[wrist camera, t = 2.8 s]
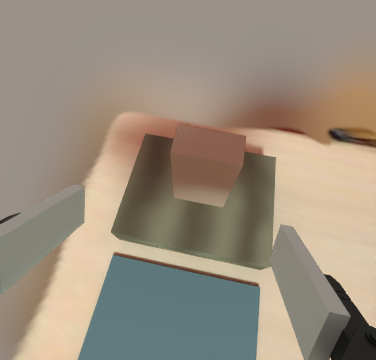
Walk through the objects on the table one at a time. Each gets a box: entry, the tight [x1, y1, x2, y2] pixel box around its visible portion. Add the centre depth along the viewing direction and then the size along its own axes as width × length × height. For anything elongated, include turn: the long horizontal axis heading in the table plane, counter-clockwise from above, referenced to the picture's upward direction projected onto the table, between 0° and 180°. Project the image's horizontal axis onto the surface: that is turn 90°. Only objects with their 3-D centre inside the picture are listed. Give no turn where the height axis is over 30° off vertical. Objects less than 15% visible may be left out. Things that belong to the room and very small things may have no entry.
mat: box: [78, 255, 260, 360], centre depth 25 cm, size 18×14×1 cm
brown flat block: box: [111, 134, 276, 270], centre depth 30 cm, size 18×14×4 cm
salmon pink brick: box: [170, 124, 246, 207], centre depth 24 cm, size 6×3×10 cm, turn 78°
